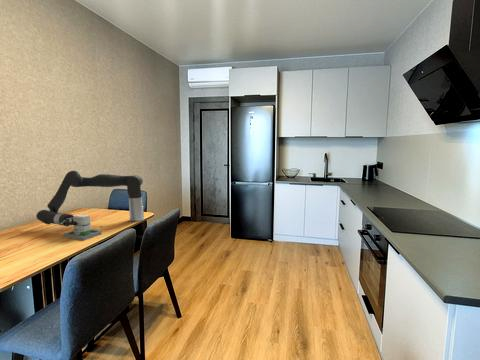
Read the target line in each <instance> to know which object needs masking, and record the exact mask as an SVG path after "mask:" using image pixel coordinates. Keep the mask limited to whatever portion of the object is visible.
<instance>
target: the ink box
mask: <svg viewBox="0 0 480 360" xmlns="http://www.w3.org/2000/svg"><path fill="white" fill-rule="evenodd" d="M90 217H91V216H90V215H85V214H78V215H73V220H74V222H77V225H76V226H74V225H73V231H74V234H75V235H80V236H87V235H89V234H91V229H92V227H91V218H90Z"/></svg>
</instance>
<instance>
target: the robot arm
mask: <svg viewBox="0 0 480 360" xmlns="http://www.w3.org/2000/svg"><path fill="white" fill-rule="evenodd" d="M64 175H65V176H64V177H63V180H62V182H61V183H60V186H59V187H58V189H57V190H56V193H55V194H54V195H53V196H52V198H51V199H50V201H49V202H48V204H47V205H46V206H47V208H48V209H49V210H47V209H41V210H39V211H38V212H37V213H36V216H35V217H36V219H37V220H38V221H40V222H42V223H44V224H46V225H51V224H53V225H58V226H63V227H70V226H73V227H74V226H76V225H77V222H74V220H73V216H74V215H73V214H71V213H63V212H60V213H59V210H60V208H61V207H62V206H63V204H64V203H65V200H66V199H67V195H68V193H69V192H68V191H69V190H70V188H71V187H73V188H85V187H86V188H87V187H91V188H92V187H96V188H97V187H101V188H114V187H115V188H116V187H122V186H123V187H126V188H127V189H126V190H127V194H128V206H129V207H128V211H129V213H128V214H129V221H130V222H140V221H143V220H144V219H145V215H144V210H145V209H144V205H143V193H142V190H141V186H142V184H143V178H142V177H141V176H140V175H118V174H106V173H105V174H102V173H101V174H96V175H94V176H91V177H84V176H81V175H80V173H79V172H78V171H76V170H69V171H68V172H67V173H66V174H64Z"/></svg>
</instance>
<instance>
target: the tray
mask: <svg viewBox="0 0 480 360" xmlns="http://www.w3.org/2000/svg"><path fill="white" fill-rule="evenodd" d="M102 232H103V231H102V230H99V229H92V228H91V234H89V235H87V236H80V235H75V234H74V230H71V231H68V232H66V233H63V238H67V239H68V238H69V239H74V240H79V241H86V240H88V239H91V238H93V237H94V238H95V237H97V236H100V235H102V234H103V233H102Z"/></svg>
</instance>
